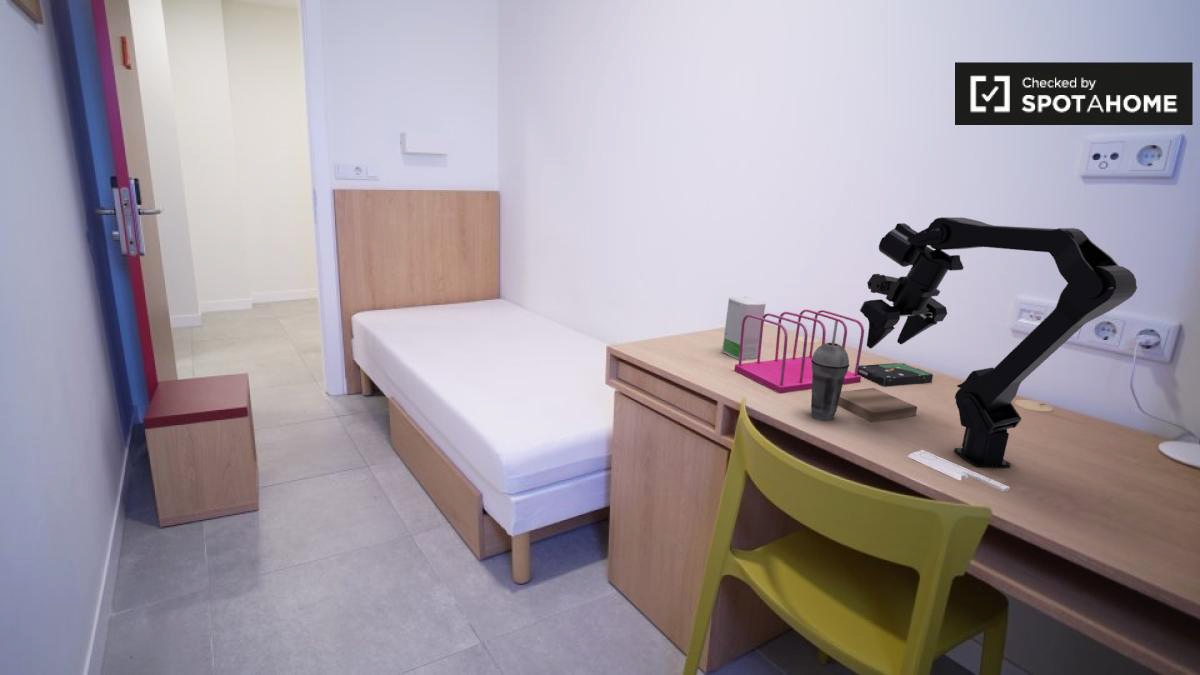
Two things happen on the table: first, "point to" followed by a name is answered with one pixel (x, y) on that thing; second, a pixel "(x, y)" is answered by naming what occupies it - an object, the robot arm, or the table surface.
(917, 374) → the disk drive
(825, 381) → the beverage cup
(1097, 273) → the robot arm
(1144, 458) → the table surface
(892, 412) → the walnut plinth
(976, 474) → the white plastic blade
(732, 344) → the skincare box
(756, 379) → the file sorter
